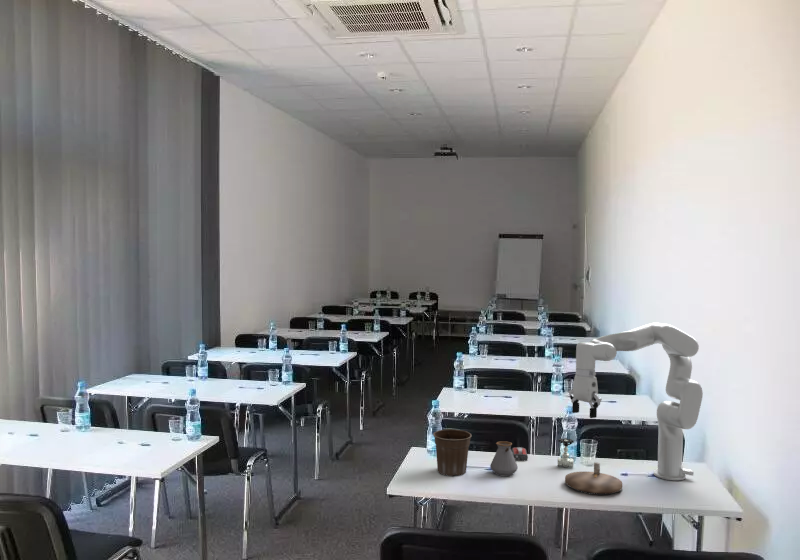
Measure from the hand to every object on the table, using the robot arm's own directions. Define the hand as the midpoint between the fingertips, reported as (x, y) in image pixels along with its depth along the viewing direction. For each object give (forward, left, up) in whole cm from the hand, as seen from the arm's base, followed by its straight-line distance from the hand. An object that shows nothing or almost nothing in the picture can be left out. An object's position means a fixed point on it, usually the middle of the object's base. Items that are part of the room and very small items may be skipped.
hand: (584, 415), depth 265 cm
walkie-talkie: (+32, -21, -28) cm, 48 cm away
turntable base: (-5, +2, -28) cm, 28 cm away
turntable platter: (-4, +2, -27) cm, 27 cm away
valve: (+10, -19, -28) cm, 36 cm away
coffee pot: (+30, +7, -28) cm, 42 cm away
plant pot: (+52, +11, -28) cm, 61 cm away
